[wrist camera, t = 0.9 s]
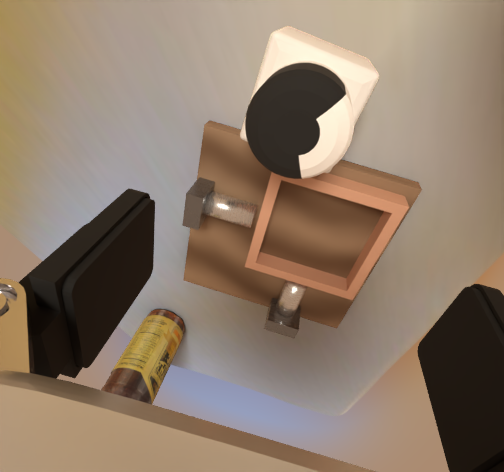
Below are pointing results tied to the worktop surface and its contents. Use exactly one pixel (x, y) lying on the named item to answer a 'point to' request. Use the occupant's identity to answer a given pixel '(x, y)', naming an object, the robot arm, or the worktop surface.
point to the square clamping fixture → (288, 231)
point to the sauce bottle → (147, 357)
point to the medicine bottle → (306, 103)
